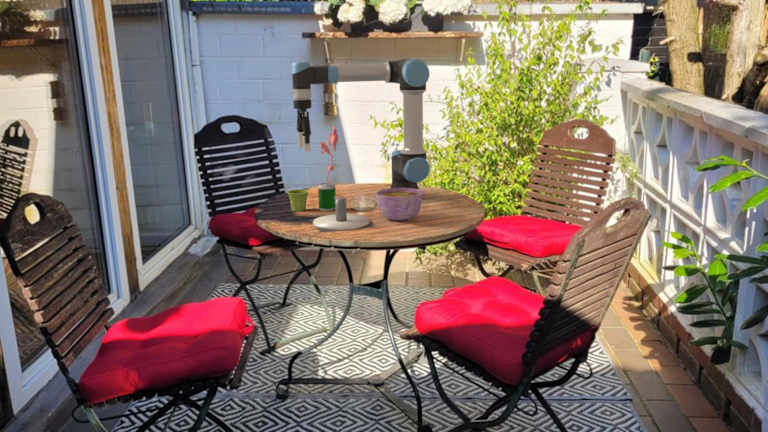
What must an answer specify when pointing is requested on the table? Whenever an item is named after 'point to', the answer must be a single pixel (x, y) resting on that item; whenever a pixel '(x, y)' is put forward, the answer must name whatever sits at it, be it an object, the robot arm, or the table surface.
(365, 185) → the table surface
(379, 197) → the bowl of food
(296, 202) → the plant pot
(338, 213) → the lid
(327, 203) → the soda can
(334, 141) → the red flower stem
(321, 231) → the mat
